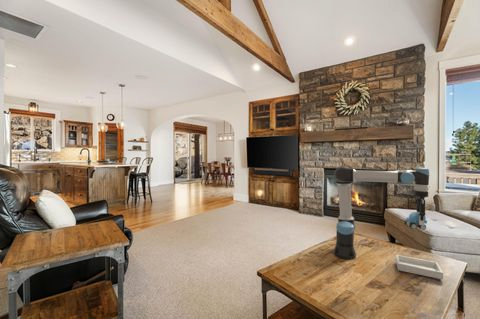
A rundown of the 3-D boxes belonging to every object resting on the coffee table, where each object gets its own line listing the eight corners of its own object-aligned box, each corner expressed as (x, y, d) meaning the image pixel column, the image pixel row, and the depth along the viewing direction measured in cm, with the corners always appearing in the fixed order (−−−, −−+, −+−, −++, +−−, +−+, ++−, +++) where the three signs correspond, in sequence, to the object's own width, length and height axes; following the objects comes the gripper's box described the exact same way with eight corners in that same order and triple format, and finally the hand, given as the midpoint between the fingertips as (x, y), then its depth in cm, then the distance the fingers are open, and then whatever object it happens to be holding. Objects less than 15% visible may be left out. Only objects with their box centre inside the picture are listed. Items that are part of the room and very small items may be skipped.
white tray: (397, 272, 149) (398, 263, 149) (395, 262, 162) (396, 254, 162) (442, 281, 138) (443, 272, 138) (436, 270, 151) (437, 262, 151)
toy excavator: (437, 231, 157) (438, 205, 156) (409, 229, 160) (410, 204, 159) (429, 226, 165) (430, 202, 164) (403, 225, 168) (404, 201, 167)
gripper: (432, 193, 150) (430, 228, 151) (425, 188, 169) (423, 219, 170) (417, 192, 153) (415, 226, 154) (412, 187, 172) (410, 218, 173)
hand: (420, 223), depth 162 cm, fingers closed on toy excavator, 9 cm apart
